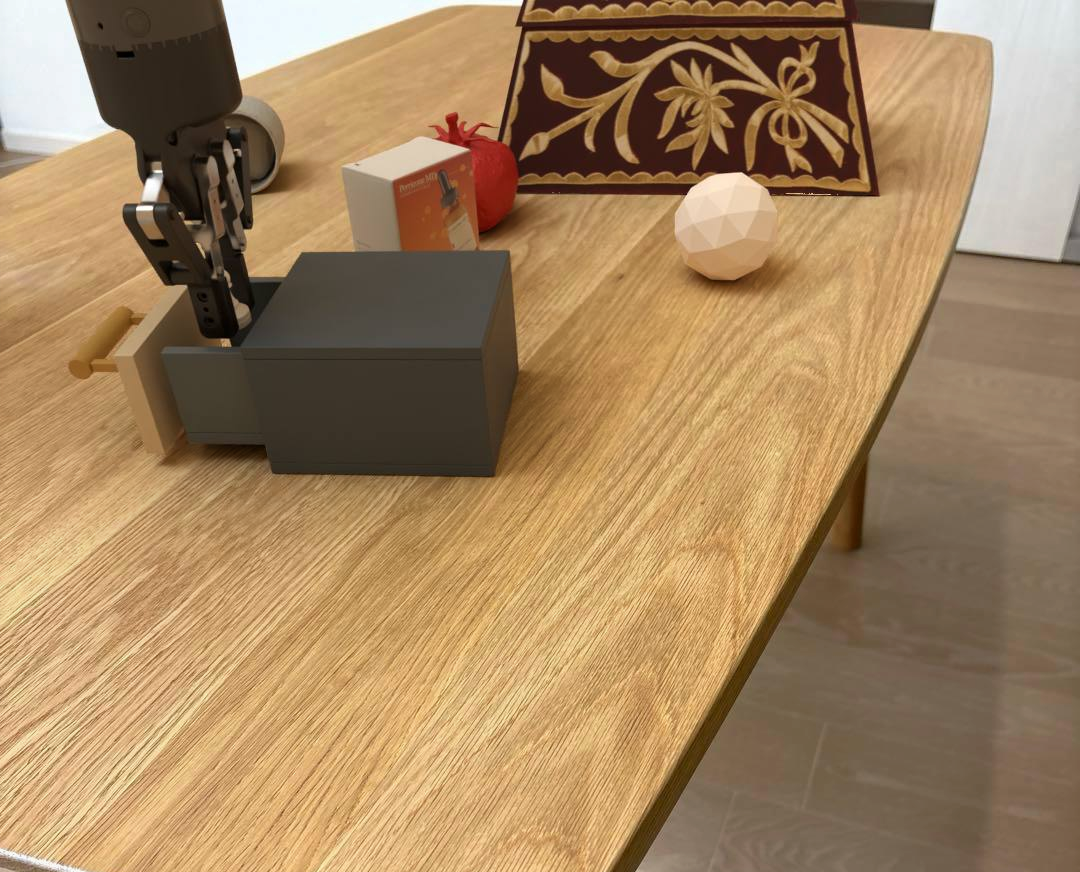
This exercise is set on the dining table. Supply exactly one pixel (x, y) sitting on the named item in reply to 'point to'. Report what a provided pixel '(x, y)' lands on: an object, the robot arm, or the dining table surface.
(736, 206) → the geometric ball
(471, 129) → the pomegranate
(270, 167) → the ceramic mug
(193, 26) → the robot arm
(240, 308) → the chess pawn
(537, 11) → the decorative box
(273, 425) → the cabinet
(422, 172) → the small box
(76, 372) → the drawer
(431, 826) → the dining table surface
